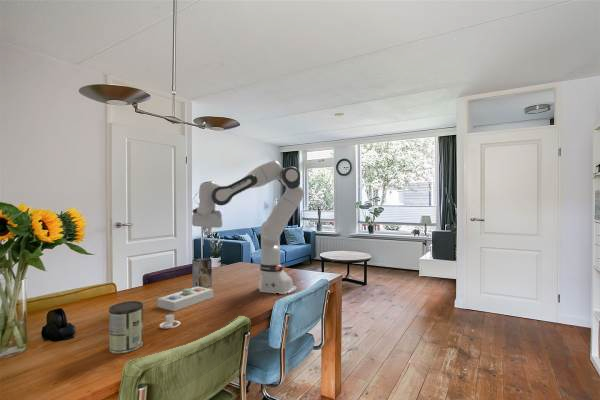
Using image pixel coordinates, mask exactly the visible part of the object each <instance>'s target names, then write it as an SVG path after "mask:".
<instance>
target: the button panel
mask: <svg viewBox="0 0 600 400" xmlns="http://www.w3.org/2000/svg"><path fill="white" fill-rule="evenodd" d="M196 288H203V287H198V286H197V287H193V286H192V287H191V288H190V287H189V289H191V294H190V295H187V296H185V295H182V290H181V291H177V292H173V293H171V294H168V295H164V296H161V297H158V298H157V307H158V308H160V309H164V310H168V311H172V312H177V311H179V310H182V309H185V308H187V307H190V306H193V305H196V304H199V303H201V302H204V301H207V300H209V299H212V298H214V289H212V288H209V287H205V288H203V291H200V292H196V291H194V289H196ZM171 296H179V298H178V299H175V300H170V299H169V297H171Z"/></svg>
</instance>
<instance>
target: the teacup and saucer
mask: <svg viewBox="0 0 600 400" xmlns="http://www.w3.org/2000/svg"><path fill="white" fill-rule="evenodd" d="M174 322H175V323H177V324H176V325H173V324H174ZM181 324H182V323H181V321H179V320H175V314H173V313H169V314H166V315H165V321H163V322H162V323H160V324H159V325H158V326H159V328H161V329H173V328H176V327H178V326H180V325H181Z"/></svg>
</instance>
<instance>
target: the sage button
mask: <svg viewBox="0 0 600 400" xmlns="http://www.w3.org/2000/svg"><path fill="white" fill-rule="evenodd" d="M181 291H182V295H185V296H187V295H190V294H191V289H190V288H184V289H181Z"/></svg>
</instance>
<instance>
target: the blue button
mask: <svg viewBox="0 0 600 400" xmlns="http://www.w3.org/2000/svg"><path fill="white" fill-rule="evenodd" d="M178 298H179V296H171V297H169V299H170V300H175V299H178Z"/></svg>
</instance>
